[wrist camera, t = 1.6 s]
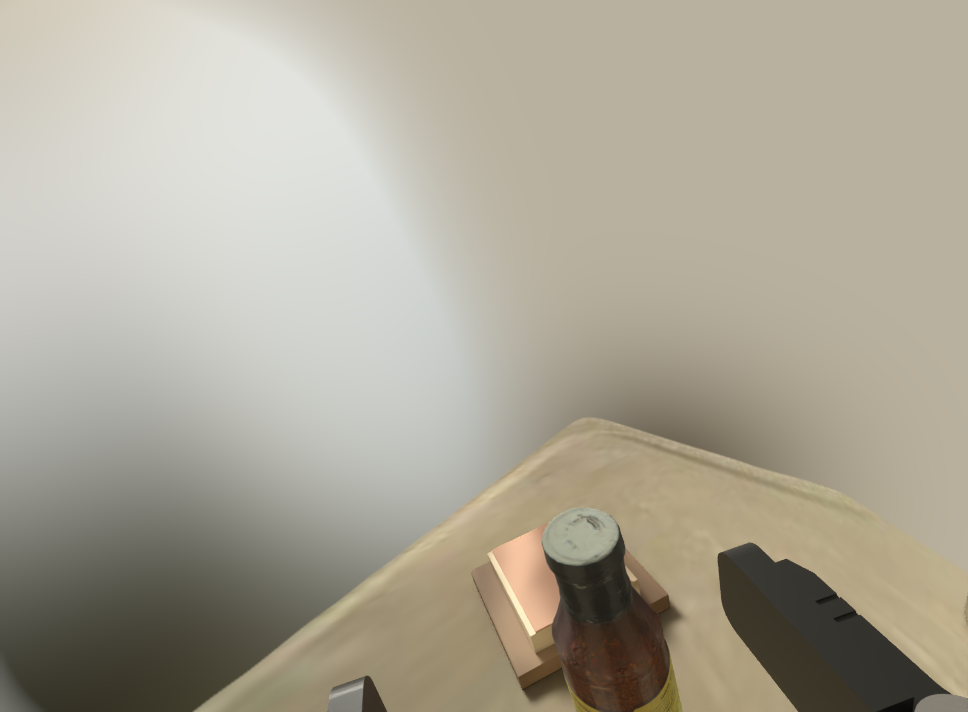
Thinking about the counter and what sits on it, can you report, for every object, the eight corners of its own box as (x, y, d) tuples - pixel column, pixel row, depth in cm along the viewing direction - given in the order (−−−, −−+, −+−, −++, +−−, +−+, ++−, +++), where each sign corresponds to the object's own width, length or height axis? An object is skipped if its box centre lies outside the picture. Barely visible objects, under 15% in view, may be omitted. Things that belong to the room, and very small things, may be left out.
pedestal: (594, 523, 52) (588, 496, 51) (670, 606, 41) (665, 575, 40) (474, 582, 49) (464, 554, 47) (522, 689, 38) (511, 657, 37)
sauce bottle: (674, 704, 34) (638, 478, 27) (709, 816, 29) (675, 567, 21) (582, 716, 35) (522, 500, 28) (598, 827, 29) (529, 590, 22)
